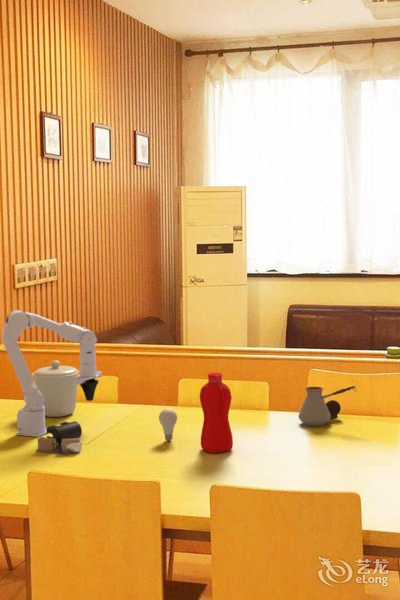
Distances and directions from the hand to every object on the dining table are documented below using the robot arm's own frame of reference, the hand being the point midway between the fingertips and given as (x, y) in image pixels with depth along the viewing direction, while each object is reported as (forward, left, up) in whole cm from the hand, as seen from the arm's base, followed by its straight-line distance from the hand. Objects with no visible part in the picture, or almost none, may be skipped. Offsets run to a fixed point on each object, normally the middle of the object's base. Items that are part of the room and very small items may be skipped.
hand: (89, 400), depth 289 cm
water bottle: (+55, -10, -10) cm, 57 cm away
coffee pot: (+79, +31, -10) cm, 85 cm away
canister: (-23, +12, -10) cm, 28 cm away
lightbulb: (+35, -6, -10) cm, 37 cm away
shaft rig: (+7, -29, -10) cm, 31 cm away
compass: (+76, +42, -10) cm, 87 cm away
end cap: (+3, -21, -10) cm, 23 cm away
